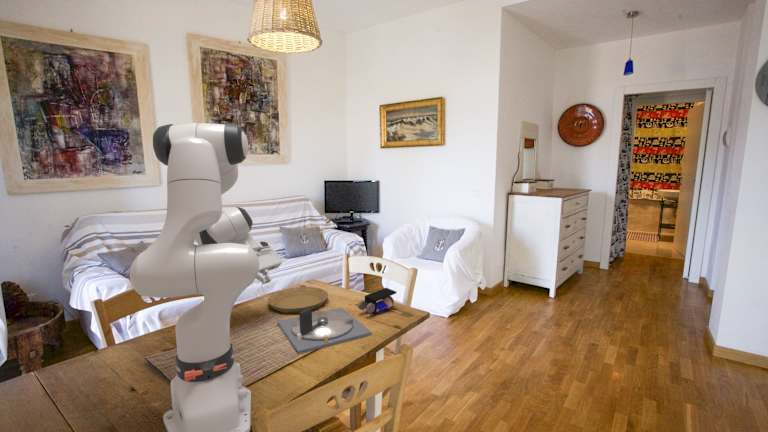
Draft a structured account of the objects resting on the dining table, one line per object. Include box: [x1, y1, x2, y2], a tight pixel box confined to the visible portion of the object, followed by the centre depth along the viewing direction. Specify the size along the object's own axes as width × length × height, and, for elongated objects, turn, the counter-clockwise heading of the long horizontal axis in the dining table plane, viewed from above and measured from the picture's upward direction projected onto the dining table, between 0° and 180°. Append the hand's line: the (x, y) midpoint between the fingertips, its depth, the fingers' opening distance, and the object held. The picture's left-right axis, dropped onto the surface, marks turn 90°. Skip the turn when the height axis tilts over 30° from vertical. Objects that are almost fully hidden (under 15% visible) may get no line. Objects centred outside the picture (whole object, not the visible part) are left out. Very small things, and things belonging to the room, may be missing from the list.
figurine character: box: [357, 287, 397, 317], centre depth 144 cm, size 7×8×15 cm
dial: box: [291, 308, 353, 340], centre depth 128 cm, size 21×21×8 cm
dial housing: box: [276, 307, 373, 355], centre depth 129 cm, size 25×25×3 cm
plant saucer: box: [267, 286, 329, 314], centre depth 153 cm, size 24×24×3 cm
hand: (267, 282), depth 130 cm, fingers closed
